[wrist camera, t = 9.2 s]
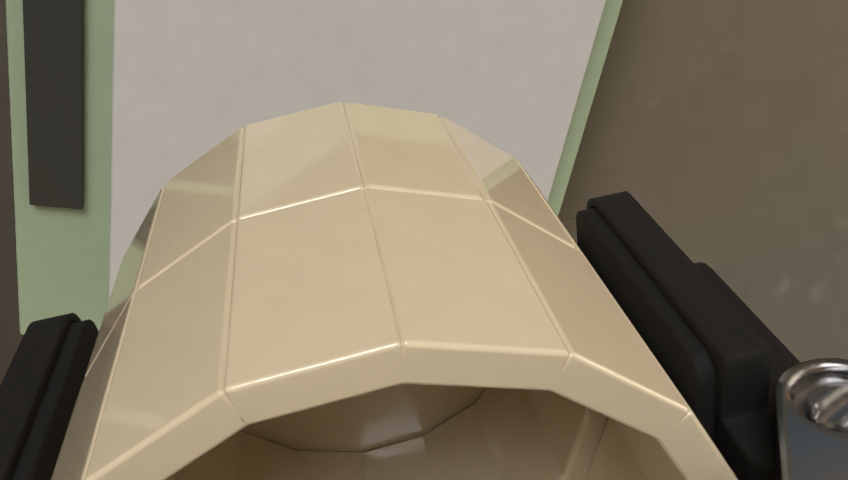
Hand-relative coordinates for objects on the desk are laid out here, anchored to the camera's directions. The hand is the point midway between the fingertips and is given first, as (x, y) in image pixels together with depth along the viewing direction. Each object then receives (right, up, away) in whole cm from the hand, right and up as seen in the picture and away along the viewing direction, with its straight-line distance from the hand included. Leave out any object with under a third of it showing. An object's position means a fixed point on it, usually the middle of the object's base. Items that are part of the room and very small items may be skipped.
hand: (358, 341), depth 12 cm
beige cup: (0, +1, +1) cm, 1 cm away
